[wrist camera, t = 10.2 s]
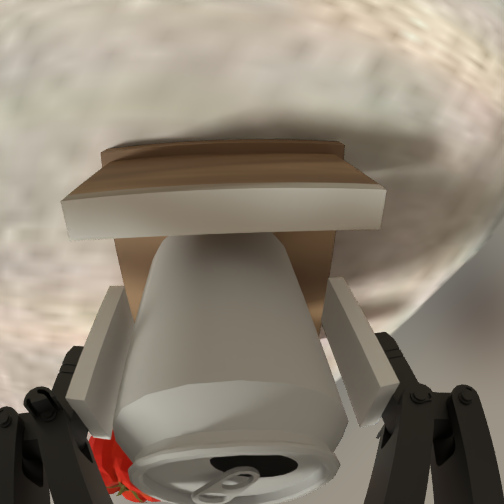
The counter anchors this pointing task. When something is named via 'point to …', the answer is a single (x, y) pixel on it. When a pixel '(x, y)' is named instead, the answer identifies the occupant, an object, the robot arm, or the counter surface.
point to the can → (227, 378)
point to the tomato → (116, 469)
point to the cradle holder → (226, 202)
